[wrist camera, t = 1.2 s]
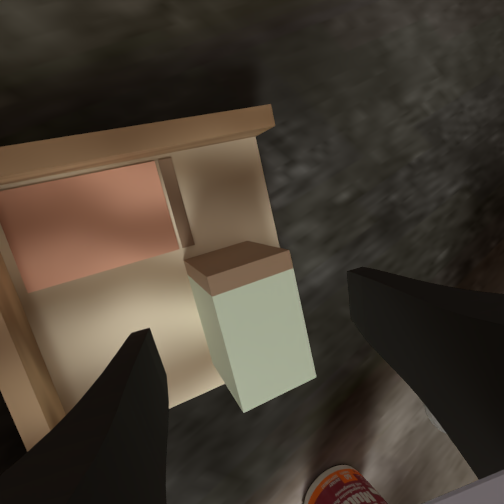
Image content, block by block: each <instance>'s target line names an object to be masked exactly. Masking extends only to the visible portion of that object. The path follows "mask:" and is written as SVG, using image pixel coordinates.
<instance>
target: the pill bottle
mask: <svg viewBox="0 0 504 504" xmlns="http://www.w3.org/2000/svg"><path fill="white" fill-rule="evenodd" d="M304 504H388V503H387V502H386V501H385V500H384V499H383V498H382V497H381V496H380V494H379V493H378V492H377V491H376V490H375V489H374V488H373V487H372V486H371V485H370V484H369V482H368V481H367V480H366V479H365V478H364V477H363V476H362V475H361V474H360V473H359V472H358V471H357V470H356V469H354V468H353V467H351V466H348V465H338V466H334V467H332V468H329V469H328V470H326V471H324V472H323V473H322V474H321V475H320V476H318V477H317V478H316V480H315V481H314V482H313V483H312V485H311V486H310V488H309V490H308V491H307V494H306V497H305V501H304Z"/></svg>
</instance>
